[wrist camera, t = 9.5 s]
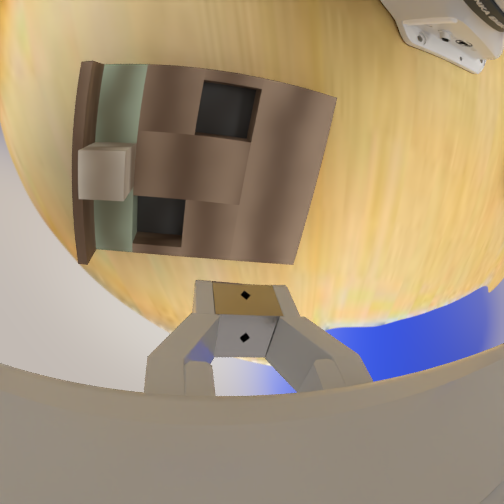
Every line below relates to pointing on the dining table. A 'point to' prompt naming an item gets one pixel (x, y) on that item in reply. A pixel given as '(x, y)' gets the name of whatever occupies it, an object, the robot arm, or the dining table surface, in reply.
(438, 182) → the dining table surface
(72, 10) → the dining table surface
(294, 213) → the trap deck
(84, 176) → the cube
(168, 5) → the dining table surface
